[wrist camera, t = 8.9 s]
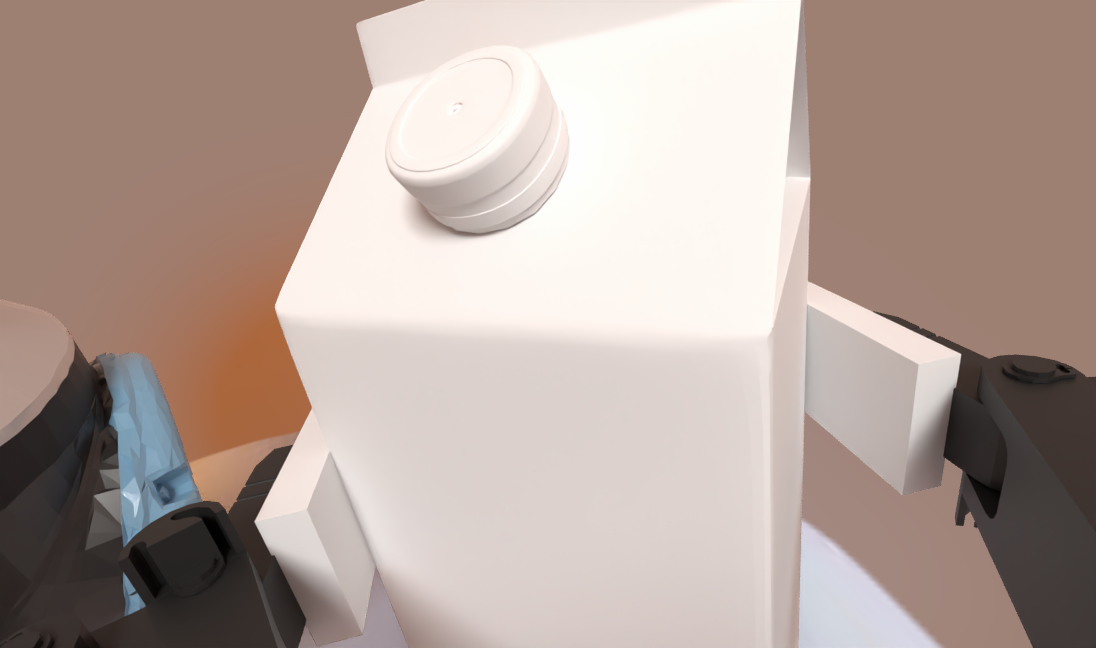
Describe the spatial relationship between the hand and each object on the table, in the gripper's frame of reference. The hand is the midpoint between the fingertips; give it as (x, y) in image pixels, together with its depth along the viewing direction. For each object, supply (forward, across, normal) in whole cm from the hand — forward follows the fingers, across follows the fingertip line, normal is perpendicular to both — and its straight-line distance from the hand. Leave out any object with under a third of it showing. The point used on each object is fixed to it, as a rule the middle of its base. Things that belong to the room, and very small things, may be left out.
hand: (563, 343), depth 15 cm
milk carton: (-4, 0, -11) cm, 12 cm away
